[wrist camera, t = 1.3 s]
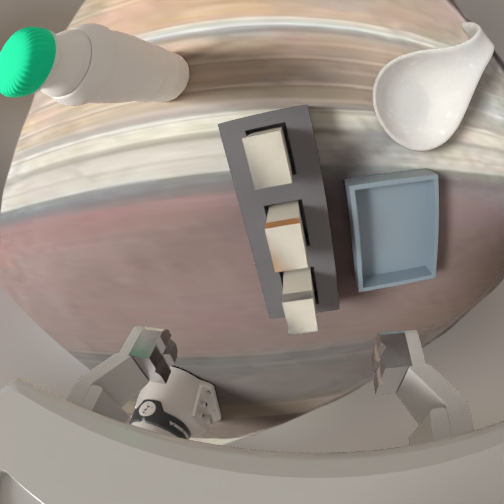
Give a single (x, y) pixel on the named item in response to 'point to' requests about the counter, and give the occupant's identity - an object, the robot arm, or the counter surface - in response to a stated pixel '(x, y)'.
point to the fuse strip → (302, 189)
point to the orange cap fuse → (286, 236)
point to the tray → (393, 227)
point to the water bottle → (90, 66)
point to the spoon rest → (430, 90)
